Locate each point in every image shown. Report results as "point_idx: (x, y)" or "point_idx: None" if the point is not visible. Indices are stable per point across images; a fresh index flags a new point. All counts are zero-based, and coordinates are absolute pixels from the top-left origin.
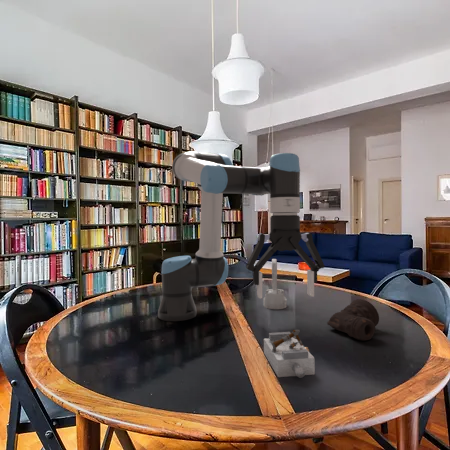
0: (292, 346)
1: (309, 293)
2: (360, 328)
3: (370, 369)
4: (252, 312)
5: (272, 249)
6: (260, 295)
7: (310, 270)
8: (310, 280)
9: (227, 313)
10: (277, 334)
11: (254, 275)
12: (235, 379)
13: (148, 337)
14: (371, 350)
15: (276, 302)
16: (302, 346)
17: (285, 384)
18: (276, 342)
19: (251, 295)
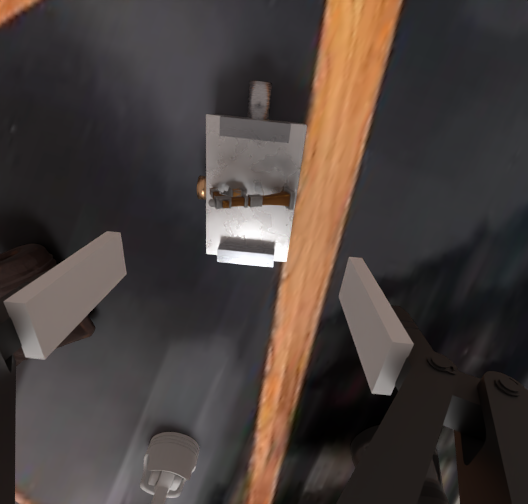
0: (238, 189)
1: (118, 255)
2: (21, 255)
3: (73, 104)
4: (233, 428)
5: None
6: (361, 264)
7: (25, 335)
8: (73, 277)
9: (286, 435)
10: (254, 252)
11: (429, 345)
12: (399, 138)
13: (487, 369)
14: (37, 198)
15: (172, 448)
16: (209, 192)
17: (300, 83)
18: (281, 197)
19: (205, 499)
